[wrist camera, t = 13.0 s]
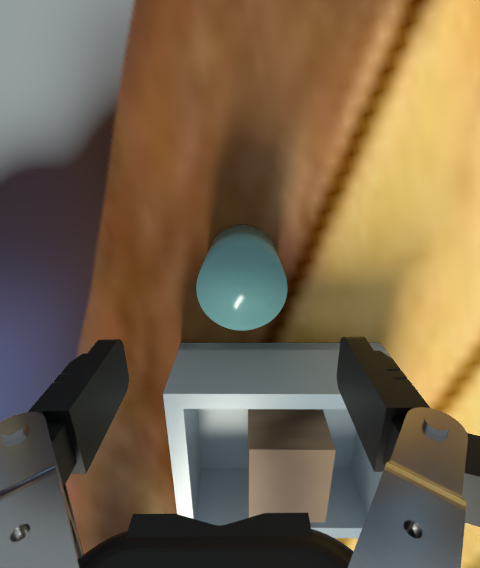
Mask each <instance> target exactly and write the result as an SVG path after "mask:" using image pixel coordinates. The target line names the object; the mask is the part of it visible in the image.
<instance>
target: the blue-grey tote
mask: <svg viewBox="0 0 480 568" xmlns="http://www.w3.org/2000/svg"><path fill="white" fill-rule="evenodd" d="M369 344H370V346H371V347H372V348H373V350H374V351H382V352H383V353H384V354H386V355H387V356H389V357H390V355H389V354H388V353H387V351H386V350H385V349H384V347H383V346H382V345H381V343H369ZM339 349H340V343H181V344H180V347H179V349H178V352H177V355H176V358H175V361H174V364H173V367H172V369H171V372H170V375H169V378H168V381H167V384H166V387H165V390H164V392H163V398H164V407H165V415H166V423H167V432H168V440H169V449H170V457H171V466H172V474H173V482H174V491H175V499H176V508H177V514H178V515H182V516H185V517H189V518H192V519H196V520H199V521H203V522H206V523H210V524H213V525H218V526H221V525H226V524H229V523H233V522H236V521H239V520H243V519H246V518H249V508H248V409H323V412H324V415H325V418H326V421H327V424H328V427H329V431H330V434H331V437H332V440H333V443H334V446H335V449H336V452H335V459H334V466H333V473H332V480H331V487H330V494H329V501H328V508H327V515H326V522H325V523H322V522H310V525H311V529H314V530H317V531H320V532H322V533H325V534H327V535H329V536H331V537H333V538H359V536H360V533H361V530H362V528H363V525H364V522H365V519H366V517H367V514H368V511H369V508H370V506H371V503H372V500H373V498H374V495H375V492H376V489H377V487H378V484H379V481H380V478H381V476H382V473H383V472H374V471H373V468H372V466H371V464H370V461H369V459H368V457H367V454H366V452H365V450H364V447H363V445H362V443H361V440H360V438H359V436H358V433H357V431H356V429H355V426H354V424H353V422H352V419H351V417H350V415H349V413H348V410H347V408H346V406H345V403H344V401H343V399H342V396H341V394H340V392H339V389H338V385H337V366H338V357H339ZM390 358H391V357H390ZM400 371H401V370H400ZM407 380H408V379H407Z"/></svg>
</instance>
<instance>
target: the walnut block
mask: <svg viewBox="0 0 480 568" xmlns="http://www.w3.org/2000/svg"><path fill="white" fill-rule="evenodd" d="M335 452H336V449H335V446H334V443H333V440H332V437H331V434H330V431H329V427H328V424H327V421H326V418H325V415H324V412H323V409H248V508H249V518H250V517H253V516H256V515H260V514H263V513H308V515H309V520H310V522H322V523H325V522H326V515H327V508H328V501H329V494H330V487H331V480H332V473H333V466H334V459H335Z"/></svg>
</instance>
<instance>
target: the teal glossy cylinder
mask: <svg viewBox="0 0 480 568" xmlns="http://www.w3.org/2000/svg"><path fill="white" fill-rule="evenodd" d="M196 292H197V297H198V301H199V303H200V306H201V308H202V309H203V311H204V312H205V313H206V315H207V316H208V317H209V318H210V319H211V320H213V321H214V322H215V323H217V324H219V325H220V326H223V327H225V328H228V329H232V330H252V329H256V328H259V327H261V326H263V325H265V324H267V323H269V322H270V321H271V320H273V319H274V318H275V317H276V316H277V315H278V313H279V312H280V311H281V309H282V307H283V306H284V303H285V301H286V297H287V280H286V276H285V273H284V270H283V268H282V265H281V262H280V260H279V257H278V254H277V251H276V249H275V246H274V244H273V242H272V240H271V239H270V238H269V236H268V235H267V234H266V233H264V232H263V231H262V230H260V229H258V228H256V227H253V226H250V225H235V226H231V227H228V228H226V229H225V230H223V231H222V232H220V233H219V234H218V235H217V236H216V237H215V238H214V240H213V241H212V243H211V245H210V248H209V250H208V253H207V255H206V258H205V260H204V263H203V265H202V268H201V270H200V273H199V275H198V279H197V285H196Z"/></svg>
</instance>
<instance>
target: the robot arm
mask: <svg viewBox="0 0 480 568" xmlns="http://www.w3.org/2000/svg"><path fill="white" fill-rule="evenodd" d="M128 383H129V375H128V369H127V363H126V357H125V352H124V346H123V343H122V341H121V340H98V341H97V342H96V343H95V345H94V346H93V347H92V348H91V350H90V351H89V352H88V353H87V354H82V355H80V356H79V357H77V358H76V359H74V360H73V361H71V362H70V363H69V364H68V365H67V366H66V368H65V369H64V370H63V371H62V373H61V374H60V375H59V376H58V377H57V378H56V380H55V381H54V383H52V384H51V385H50V386H49V388H48V389H47V390H46V391H45V392H44V394H43V395H42V396H41V397H40V398H39V399H38V401H37V402H36V403H35V404H34V405H33V407H32V408H31V409H30V410H29V411H28V412H24V413H20V414H17V415H14V416H11V417H9V418H7V419H5V420H3V421H2V422H0V568H461V557H462V547H463V536H464V525H465V523H469V524H472V525H475V526H478V527H480V436H477V435H472V434H469V433H467V432H466V431H465V429H464V428H463V426H462V425H461V424H460V423H459V422H458V421H456V420H455V419H454V418H452V417H451V416H449V415H447V414H446V413H443V412H441V411H439V410H436V409H432V408H430V407H429V406H428V404H427V403H426V402H425V400H424V399H423V398H422V397H421V395H420V394H419V393H418V391H417V390H416V389H415V387H414V386H413V385H412V384H411V382H410V381H409V380H407V377H406V376H405V375H404V373H403V372H402V371H400V368H399V367H398V365H397V364H396V363H395V362H394V360H393V359H392V358H390V357H389V356H387V355H386V354H384V353H383V352H382V351H374V350H373V348H372V347H371V346H370V344H369V343H368V341H367V340H366V339H365V338H364V337H342V339H341V341H340V349H339V357H338V366H337V385H338V389H339V392H340V394H341V396H342V399H343V401H344V403H345V406H346V408H347V410H348V413H349V415H350V417H351V419H352V422H353V424H354V426H355V429H356V431H357V433H358V436H359V438H360V440H361V443H362V445H363V447H364V450H365V452H366V454H367V457H368V459H369V461H370V464H371V466H372V468H373V471H374V472H383V473H382V476H381V478H380V481H379V484H378V487H377V489H376V492H375V495H374V498H373V500H372V503H371V506H370V508H369V511H368V514H367V517H366V519H365V522H364V525H363V528H362V530H361V533H360V536H359V538H358V541H357V544H356V547H355V549H354V552H353V551H352V550H351V549H350V548H348V547H347V546H346V545H344V544H343V543H341V542H340V541H338V540H336V539H335V538H333V537H331V536H329V535H327V534H325V533H322V532H320V531H317V530H314V529H311V525H310V520H309V515H308V513H263V514H260V515H256V516H253V517H250V518H246V519H243V520H239V521H236V522H233V523H229V524H226V525H221V526H218V525H213V524H210V523H206V522H203V521H199V520H196V519H192V518H189V517H185V516H182V515H178V514H133V516H132V519H131V522H130V526H129V529H128V531H126V532H123V533H120V534H118V535H115V536H113V537H111V538H109V539H107V540H105V541H103V542H102V543H100V544H98V545H97V546H95V547H94V548H92V549H91V550H90V551H88V552H87V553H86V554H84V553H83V549H82V545H81V542H80V538H79V534H78V530H77V526H76V522H75V518H74V514H73V510H72V506H71V502H70V498H69V495H68V491H67V487H66V482H67V480H68V478H69V476H70V474H86V473H87V471H88V469H89V467H90V465H91V463H92V461H93V459H94V457H95V455H96V453H97V451H98V449H99V447H100V445H101V442H102V440H103V438H104V436H105V434H106V432H107V430H108V428H109V426H110V424H111V422H112V420H113V418H114V416H115V414H116V412H117V410H118V408H119V406H120V404H121V402H122V400H123V398H124V396H125V394H126V392H127V388H128Z"/></svg>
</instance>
